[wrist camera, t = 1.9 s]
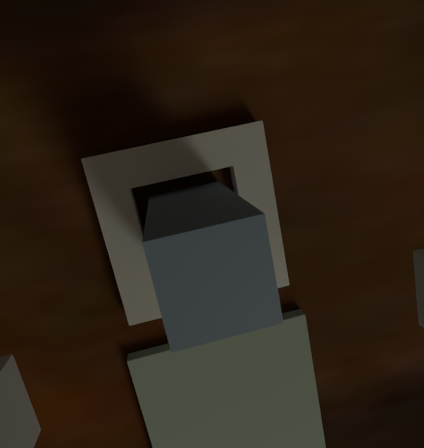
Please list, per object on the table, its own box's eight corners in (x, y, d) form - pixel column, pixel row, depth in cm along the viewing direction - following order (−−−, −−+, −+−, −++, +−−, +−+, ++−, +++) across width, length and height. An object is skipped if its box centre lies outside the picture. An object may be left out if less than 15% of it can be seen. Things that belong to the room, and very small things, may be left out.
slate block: (149, 196, 26) (142, 242, 14) (218, 181, 26) (264, 213, 15) (165, 261, 27) (171, 352, 16) (231, 246, 28) (283, 323, 16)
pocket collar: (85, 157, 25) (80, 159, 23) (256, 121, 26) (262, 120, 24) (130, 316, 28) (129, 325, 26) (282, 277, 29) (289, 285, 27)
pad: (127, 353, 28) (126, 361, 27) (300, 308, 30) (305, 314, 29) (169, 493, 32) (169, 504, 31) (322, 447, 33) (327, 457, 32)
